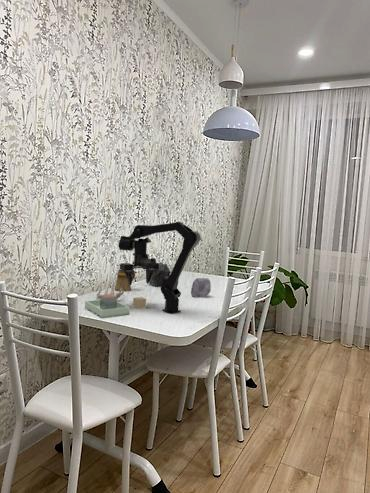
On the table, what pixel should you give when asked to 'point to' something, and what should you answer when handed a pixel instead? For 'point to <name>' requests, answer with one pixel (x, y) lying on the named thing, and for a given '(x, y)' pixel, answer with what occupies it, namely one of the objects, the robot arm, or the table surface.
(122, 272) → the wooden mug
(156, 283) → the rock
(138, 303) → the carton
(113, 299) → the tea tin
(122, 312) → the tote
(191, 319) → the table surface
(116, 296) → the skeleton model
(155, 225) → the robot arm
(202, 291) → the rock
